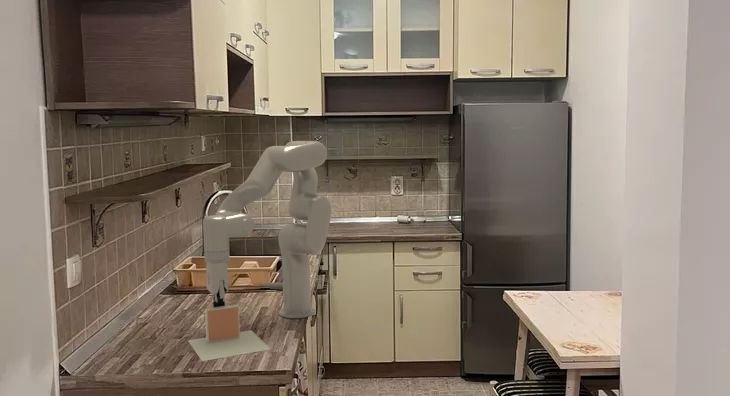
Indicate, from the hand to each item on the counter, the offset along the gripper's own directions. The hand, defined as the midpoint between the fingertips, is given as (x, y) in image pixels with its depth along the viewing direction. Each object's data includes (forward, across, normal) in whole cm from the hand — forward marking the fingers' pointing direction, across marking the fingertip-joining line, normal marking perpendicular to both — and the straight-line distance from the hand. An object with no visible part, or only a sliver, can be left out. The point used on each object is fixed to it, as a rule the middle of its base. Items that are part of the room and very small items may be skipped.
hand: (219, 313), depth 204 cm
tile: (+7, +3, 0) cm, 8 cm away
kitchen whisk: (+8, -43, +39) cm, 58 cm away
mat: (+8, +9, 0) cm, 12 cm away
